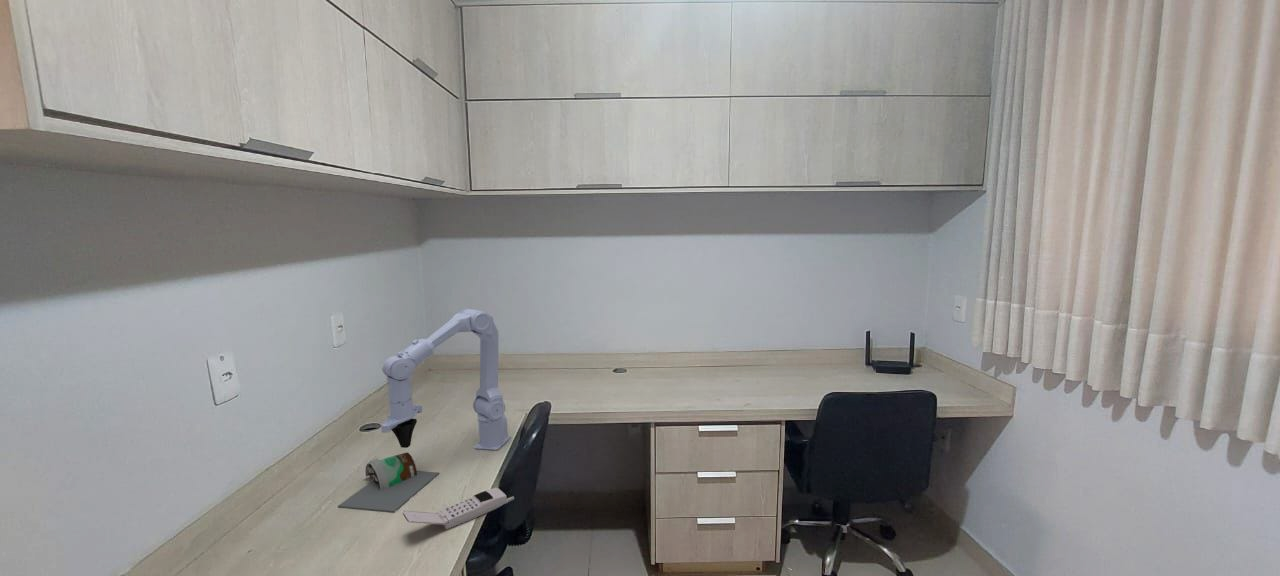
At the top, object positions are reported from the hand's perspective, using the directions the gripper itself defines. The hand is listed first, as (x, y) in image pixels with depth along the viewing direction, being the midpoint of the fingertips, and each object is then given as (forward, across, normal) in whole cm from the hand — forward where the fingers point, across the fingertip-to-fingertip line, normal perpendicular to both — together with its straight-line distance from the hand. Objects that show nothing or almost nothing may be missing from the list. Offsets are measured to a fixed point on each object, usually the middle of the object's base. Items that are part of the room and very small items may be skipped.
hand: (405, 446), depth 139 cm
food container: (+5, -3, -1) cm, 6 cm away
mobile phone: (+9, +16, +26) cm, 32 cm away
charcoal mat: (+9, +7, 0) cm, 11 cm away
